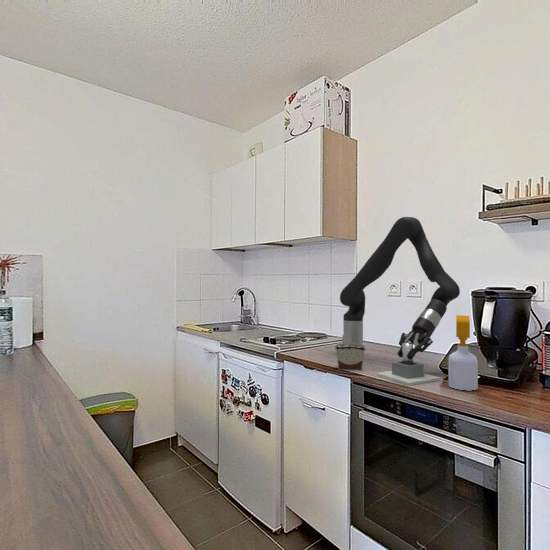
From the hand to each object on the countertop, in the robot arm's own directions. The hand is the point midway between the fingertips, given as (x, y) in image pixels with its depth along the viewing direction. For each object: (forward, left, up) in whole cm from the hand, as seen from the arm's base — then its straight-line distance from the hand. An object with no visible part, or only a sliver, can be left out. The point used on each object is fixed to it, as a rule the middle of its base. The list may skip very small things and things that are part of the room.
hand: (404, 357), depth 144 cm
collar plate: (0, +2, -8) cm, 8 cm away
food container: (-22, -8, -8) cm, 25 cm away
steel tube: (0, +2, -4) cm, 5 cm away
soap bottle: (+18, +9, -8) cm, 22 cm away
